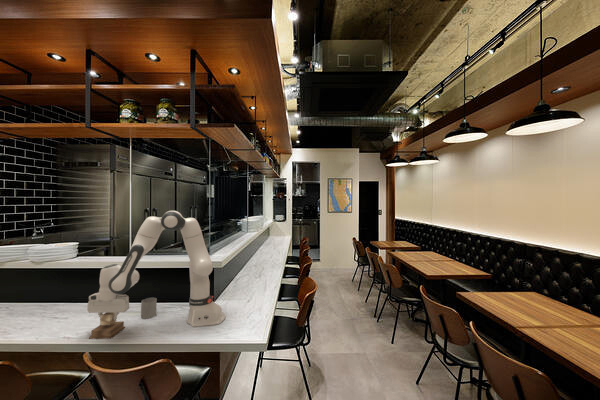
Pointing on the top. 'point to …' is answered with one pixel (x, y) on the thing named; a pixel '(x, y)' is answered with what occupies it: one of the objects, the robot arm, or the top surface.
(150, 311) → the cup
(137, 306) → the top surface
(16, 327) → the top surface
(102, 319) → the maple cube
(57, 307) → the top surface
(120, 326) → the walnut pedestal
